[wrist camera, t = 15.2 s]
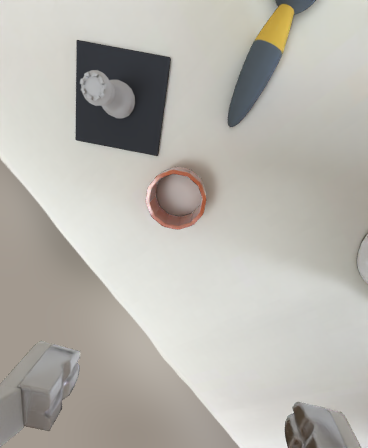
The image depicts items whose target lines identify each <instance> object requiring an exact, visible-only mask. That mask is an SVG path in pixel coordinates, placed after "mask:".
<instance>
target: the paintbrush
mask: <svg viewBox="0 0 368 448" xmlns="http://www.w3.org/2000/svg"><path fill="white" fill-rule="evenodd" d="M315 1H316V0H276V3H277V6H278V8H277V9H276V11H275V12H274V13H273V15H272V16H271V17H270V19H269V20H268V21H267V23H266V24H265V26H264V27H263V28H262V30H261V31H260V33H259V34H258V36H257V37H256V39H255V41H254V42H253V44H252V46H251V48H250V51H249V53H248V55H247V57H246V60H245V62H244V65H243V67H242V70H241V72H240V75H239V78H238V81H237V84H236V86H235V89H234V93H233V96H232V100H231V103H230V107H229V113H228V125H229V126H230V127H234V126H235V125H237V124H238V123H239V122H240V121H241V120H242V119H243V118H244V117H245V116H246V114H247V113H248V112H249V110H250V109H251V108H252V106H253V105H254V103H255V102H256V100H257V99H258V97H259V96H260V94H261V93H262V91H263V89H264V88H265V86H266V84H267V83H268V81H269V79H270V78H271V76H272V74H273V72H274V70H275V68H276V66H277V64H278V62H279V60H280V58H281V56H282V54H283V51H284V48H285V44H286V41H287V38H288V34H289V31H290V27H291V23H292V19H293V15H294V14H298V13H300V12H302V11H304V10H306V9H307V8H308V7H310V6H311V5H312V4H313V3H314V2H315Z"/></svg>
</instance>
